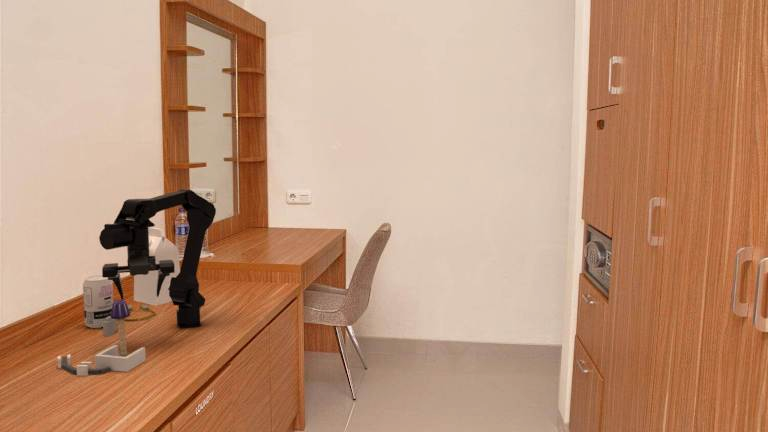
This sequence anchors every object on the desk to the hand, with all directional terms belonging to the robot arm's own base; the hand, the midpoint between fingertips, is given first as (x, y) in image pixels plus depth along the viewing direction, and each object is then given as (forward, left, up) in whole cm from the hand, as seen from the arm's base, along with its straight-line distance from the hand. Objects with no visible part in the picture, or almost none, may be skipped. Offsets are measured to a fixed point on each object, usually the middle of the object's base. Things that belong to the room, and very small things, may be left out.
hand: (140, 298), depth 171 cm
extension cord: (+1, -30, -14) cm, 33 cm away
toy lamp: (+5, +16, -13) cm, 21 cm away
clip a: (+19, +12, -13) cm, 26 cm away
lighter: (+8, -12, -13) cm, 20 cm away
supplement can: (+12, -21, -13) cm, 28 cm away
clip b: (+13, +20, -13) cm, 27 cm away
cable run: (+14, +15, -13) cm, 24 cm away
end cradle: (+5, +16, -13) cm, 21 cm away
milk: (-6, -46, -13) cm, 48 cm away
